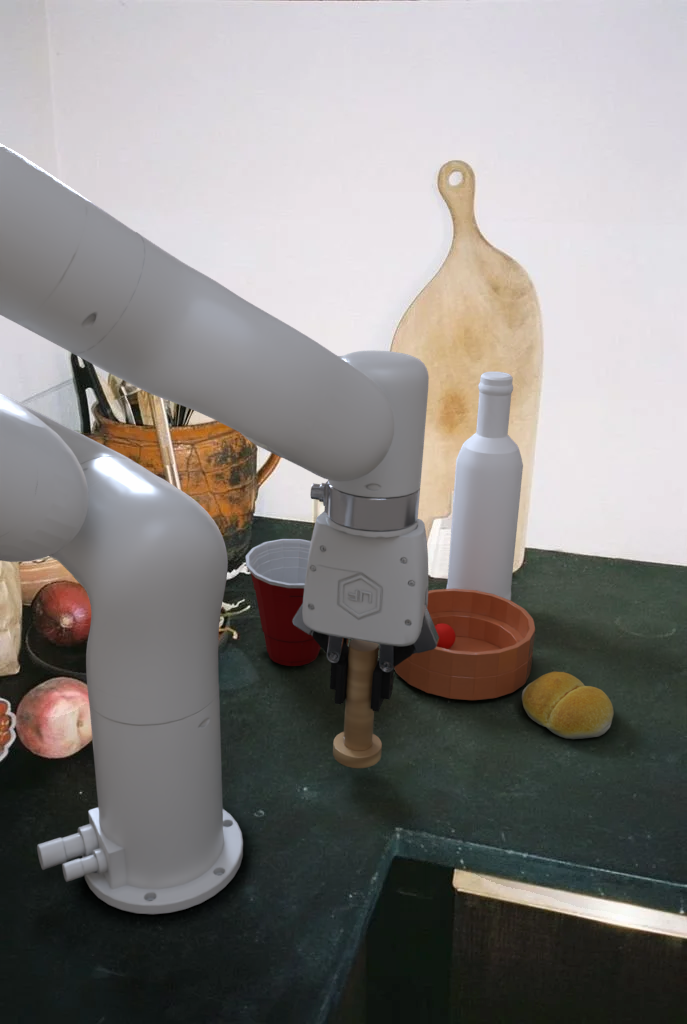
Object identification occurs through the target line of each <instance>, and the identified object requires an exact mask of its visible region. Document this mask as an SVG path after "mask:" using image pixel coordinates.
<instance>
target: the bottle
mask: <svg viewBox="0 0 687 1024" xmlns="http://www.w3.org/2000/svg"><path fill="white" fill-rule="evenodd" d="M479 379H480V380H479V383H478V384H477V385H478V403H477V404H478V405H477V415H476V416H477V417H476V418H477V420H476V429H475V430H476V431H475V433H473V434H472V435H470V437H468V438H467V439H466V440H465V441H464V442H463V443H462V445H461V447H460V449H459V451H458V454H457V457H456V459H455V471H454V487H453V502H452V513H451V514H452V515H451V516H452V517H451V528H450V541H449V542H450V544H449V556H448V557H449V558H448V569H447V583H446V587H445V589H467V590H477V591H481V592H486V593H491V594H495V595H497V596H500V597H503V598H505V599H508V600H511V601H512V583H513V574H514V573H513V571H514V562H515V552H516V541H517V530H518V522H519V521H518V520H519V511H520V501H521V491H522V480H523V471H524V470H523V469H524V463H523V458H522V455H521V451H520V447H519V446H518V444H517V443H516V442H515V441H514V440H513V438H512V437H511V436H510V435H509V425H510V413H511V402H512V393H513V392H514V385H513V380H514V379H513V376H512V375H511V374H510V373H508V372H503V371H485V372H483V373H482V374H481V375H480V378H479Z"/></svg>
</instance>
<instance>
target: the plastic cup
mask: <svg viewBox="0 0 687 1024" xmlns="http://www.w3.org/2000/svg"><path fill="white" fill-rule="evenodd" d="M310 544H311V540H308V539H307V540H306V539H302V538H280V539H274V540H269V541H268V540H267V541H264V542H262V543H260V544H258V545H256V546H254V547H252V548H251V549H250V550H249V551H248V552H247V554H246V555H245V566H246V569H247V570H248V571H249V573H250V576H251V581H252V583H253V590H254V591H255V596H256V602H257V607H258V613H259V619H260V624H261V631H262V633H263V636H264V641H265V647H266V652H267V654H268V658H269V659H270V660H271V661H272V662H274V663H276V664H279V665H281V666H287V667H299V666H300V667H302V666H304V665H308V664H310V663H312V662H313V661H315V660H316V659H317V658H318V656H319V653H320V650H321V649H322V648H321V647H320V645H319V644H318V643H317V642H316V641H315V640H314V638H313V636H312V635H309V634H307V633H305V632H304V631H302V630H301V629H299V628H298V627H296V626H295V625H294V624H293V622H292V620H293V618H294V616H295V615H296V613H297V611H298V610H299V608H300V606H301V605H302V603H303V596H304V587H305V578H306V570H307V563H308V556H309V550H310Z"/></svg>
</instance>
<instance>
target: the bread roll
mask: <svg viewBox="0 0 687 1024" xmlns="http://www.w3.org/2000/svg"><path fill="white" fill-rule="evenodd" d="M521 701H522V706H523V709H524V711H525V714H527V716H528V717H529V719H531V720H532V721H534V722H535V723H537V724H538V725H539V726H542V727H545V728H546V729H547V730H549V731H550V732H551V733H553V734H554V735H556V736H558V737H560V738H564V739H568V740H569V739H570V740H580V739H591V738H592V739H593V738H598V737H601V736H602V735H604V734H605V733H607V732H608V730H609V729H610V728H611V725H612V722H613V718H614V713H615V711H614V707H613V702H612V701H611V699H610V697H609V696H608V695H607V693H605V692H604V691H603V690H602V689H600V688H598V687H595V686H591V685H585V684H584V683H583V682H582V681H581V680H580V679H579V678H577V677H576V676H574V675H573V674H571V673H568V672H565V671H550V672H548V673H545V674H543V675H540V676H539V677H537V678H536V679H534V680H533V681H532V682H530V683H528V684H527V685H526V687H524V689H523V690H522V694H521Z"/></svg>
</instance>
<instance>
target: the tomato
mask: <svg viewBox="0 0 687 1024" xmlns="http://www.w3.org/2000/svg"><path fill="white" fill-rule="evenodd" d="M435 628H436V631H437V633H438V636H439V641H438V644H437V647H441V648H445V649H449V648H450V647H451V646H452V645H453V644H454V642H455V638H456V635H455V632H454V630H453V628H452V627H451V626H449V625H448V624H444V623H440V624H437V625H435Z"/></svg>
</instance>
